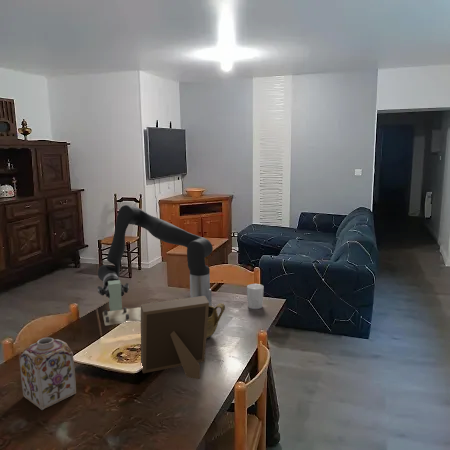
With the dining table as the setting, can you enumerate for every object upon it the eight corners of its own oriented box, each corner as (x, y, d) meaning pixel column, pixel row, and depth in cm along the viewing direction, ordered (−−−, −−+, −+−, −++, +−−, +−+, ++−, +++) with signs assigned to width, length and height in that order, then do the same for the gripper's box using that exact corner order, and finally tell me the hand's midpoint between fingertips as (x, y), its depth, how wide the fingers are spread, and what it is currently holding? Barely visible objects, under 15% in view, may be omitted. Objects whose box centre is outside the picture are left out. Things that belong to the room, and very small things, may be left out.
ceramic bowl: (231, 333, 175) (231, 298, 172) (215, 351, 160) (215, 313, 157) (182, 325, 183) (181, 291, 181) (162, 342, 168) (161, 305, 165)
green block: (120, 305, 192) (119, 279, 190) (122, 309, 187) (120, 283, 185) (109, 307, 190) (107, 281, 188) (110, 311, 186) (108, 284, 184)
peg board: (155, 308, 203) (154, 301, 203) (161, 320, 188) (161, 313, 188) (102, 315, 195) (102, 308, 195) (105, 328, 181) (104, 321, 180)
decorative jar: (57, 381, 140) (53, 329, 137) (77, 393, 133) (73, 339, 130) (21, 397, 131) (15, 342, 128) (40, 411, 124) (35, 353, 121)
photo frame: (140, 367, 148) (137, 298, 144) (200, 356, 156) (199, 290, 151) (149, 390, 135) (146, 314, 130) (214, 376, 142) (214, 305, 138)
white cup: (245, 308, 202) (245, 288, 200) (249, 302, 209) (249, 283, 207) (261, 310, 199) (261, 289, 198) (265, 304, 207) (265, 284, 205)
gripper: (95, 276, 198) (97, 288, 182) (127, 273, 203) (132, 284, 187) (96, 292, 199) (98, 305, 183) (127, 288, 204) (132, 301, 188)
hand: (115, 294), depth 185 cm, fingers closed on green block, 5 cm apart
